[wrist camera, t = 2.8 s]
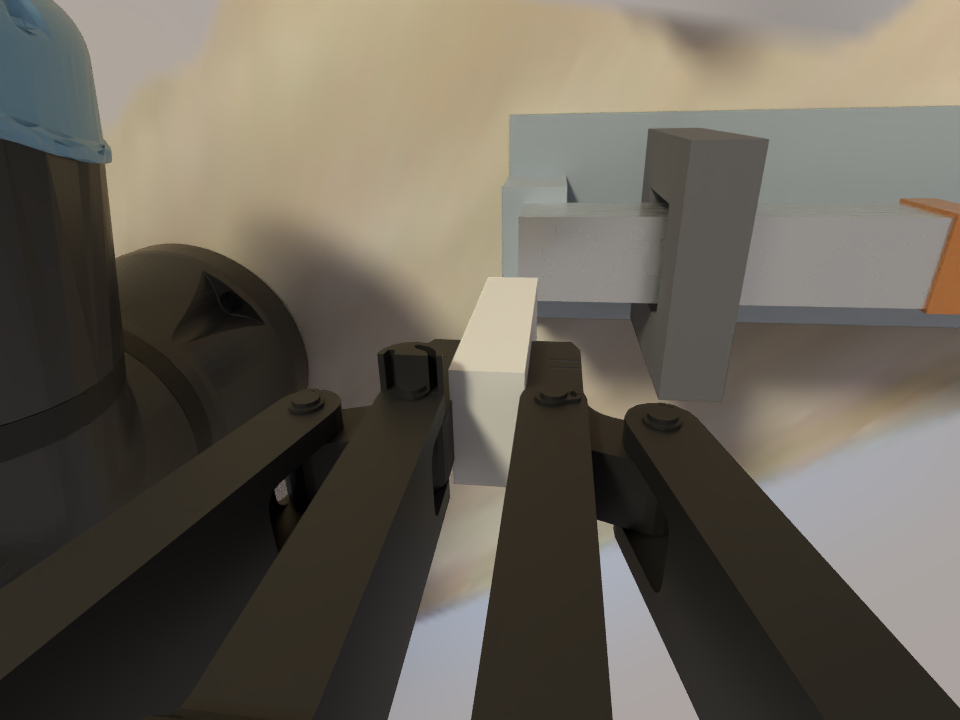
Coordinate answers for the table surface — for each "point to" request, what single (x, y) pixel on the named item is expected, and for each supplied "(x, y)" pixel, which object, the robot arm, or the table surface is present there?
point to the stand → (786, 178)
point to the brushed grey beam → (756, 253)
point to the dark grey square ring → (698, 255)
